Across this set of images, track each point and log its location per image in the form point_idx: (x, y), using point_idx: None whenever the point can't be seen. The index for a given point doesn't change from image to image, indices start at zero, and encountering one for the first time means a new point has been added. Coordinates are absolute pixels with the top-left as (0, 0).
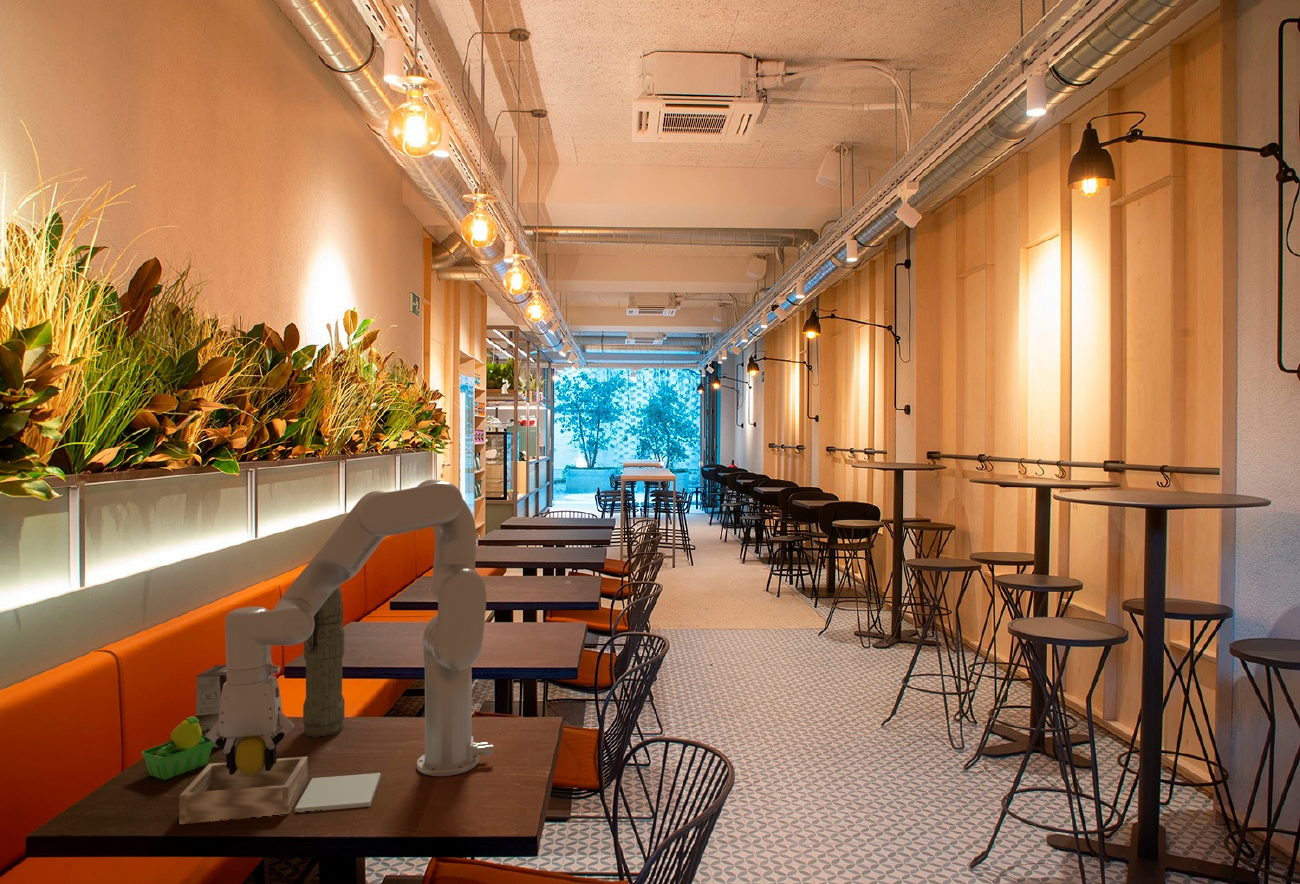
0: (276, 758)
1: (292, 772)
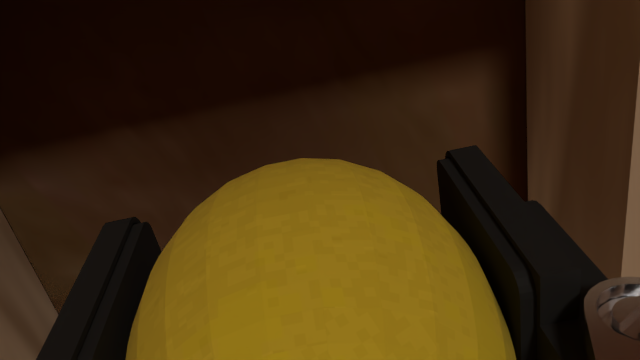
0: (541, 209)
1: (632, 179)
